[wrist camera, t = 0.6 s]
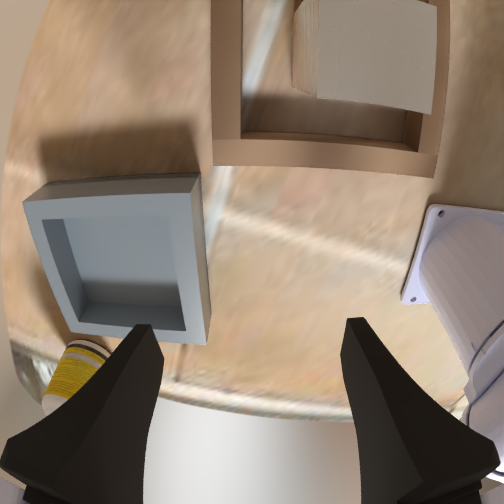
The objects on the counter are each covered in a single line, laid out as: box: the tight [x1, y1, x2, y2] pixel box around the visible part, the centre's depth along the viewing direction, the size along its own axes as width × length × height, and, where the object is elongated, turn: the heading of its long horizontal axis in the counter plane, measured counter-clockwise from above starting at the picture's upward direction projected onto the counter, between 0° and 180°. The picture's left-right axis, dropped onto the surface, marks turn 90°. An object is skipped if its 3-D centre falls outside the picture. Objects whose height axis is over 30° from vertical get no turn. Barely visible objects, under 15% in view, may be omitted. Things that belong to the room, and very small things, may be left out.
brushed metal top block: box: [292, 0, 437, 115], centre depth 10 cm, size 4×4×7 cm
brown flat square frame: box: [211, 0, 450, 178], centre depth 13 cm, size 12×12×2 cm
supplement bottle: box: [42, 340, 110, 416], centre depth 22 cm, size 5×5×10 cm
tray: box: [22, 173, 211, 345], centre depth 19 cm, size 10×10×3 cm
